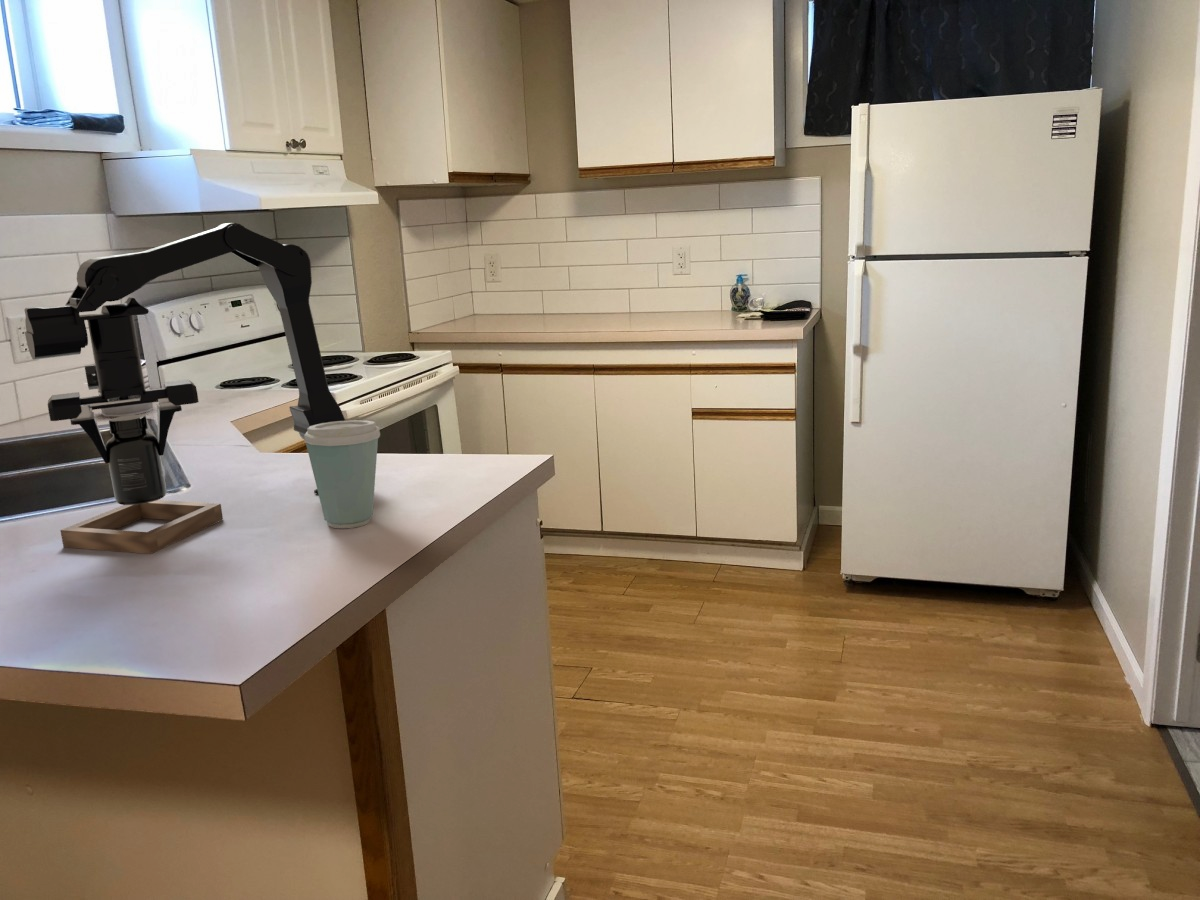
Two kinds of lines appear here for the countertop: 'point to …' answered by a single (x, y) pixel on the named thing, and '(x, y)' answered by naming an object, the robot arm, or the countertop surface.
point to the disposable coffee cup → (344, 469)
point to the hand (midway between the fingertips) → (134, 458)
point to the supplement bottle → (134, 461)
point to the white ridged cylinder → (130, 408)
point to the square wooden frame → (105, 537)
